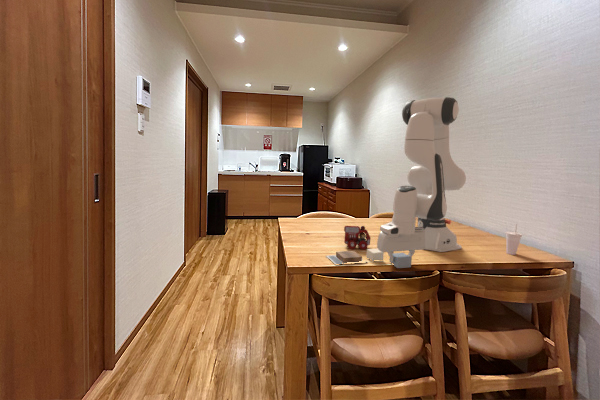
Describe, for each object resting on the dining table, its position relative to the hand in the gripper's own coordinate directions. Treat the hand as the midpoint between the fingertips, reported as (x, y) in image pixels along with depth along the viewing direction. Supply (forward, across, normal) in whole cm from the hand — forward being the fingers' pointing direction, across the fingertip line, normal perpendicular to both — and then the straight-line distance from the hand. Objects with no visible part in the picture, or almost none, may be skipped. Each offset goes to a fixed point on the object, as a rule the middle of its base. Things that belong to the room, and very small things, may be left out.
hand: (400, 260), depth 128 cm
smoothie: (+2, -61, -3) cm, 61 cm away
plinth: (+1, +18, -10) cm, 21 cm away
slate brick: (+2, 0, 0) cm, 2 cm away
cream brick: (+2, +7, -8) cm, 11 cm away
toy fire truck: (+2, +7, -25) cm, 26 cm away
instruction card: (+2, +19, -10) cm, 22 cm away
